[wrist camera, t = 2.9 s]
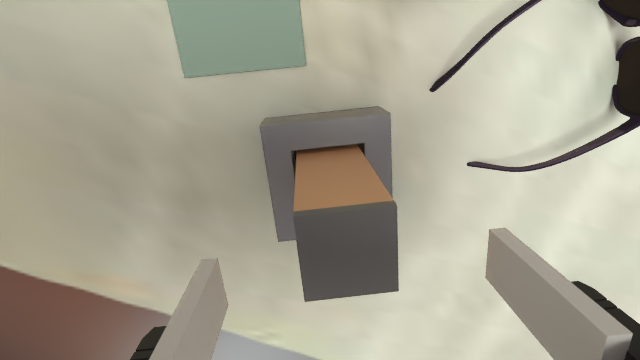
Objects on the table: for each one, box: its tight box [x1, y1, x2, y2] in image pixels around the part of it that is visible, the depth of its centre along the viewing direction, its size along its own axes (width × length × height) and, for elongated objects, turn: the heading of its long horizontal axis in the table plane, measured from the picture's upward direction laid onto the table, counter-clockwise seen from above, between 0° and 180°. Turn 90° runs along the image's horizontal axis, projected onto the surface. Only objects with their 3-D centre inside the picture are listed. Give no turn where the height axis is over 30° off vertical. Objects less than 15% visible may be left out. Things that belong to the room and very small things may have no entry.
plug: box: [293, 144, 399, 302], centre depth 24 cm, size 5×5×15 cm
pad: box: [167, 0, 306, 78], centre depth 26 cm, size 10×10×1 cm
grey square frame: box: [260, 106, 392, 242], centre depth 29 cm, size 10×10×4 cm
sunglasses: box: [430, 0, 640, 172], centre depth 27 cm, size 14×16×5 cm
